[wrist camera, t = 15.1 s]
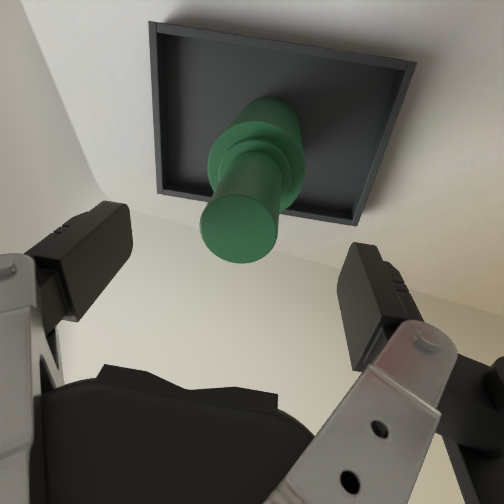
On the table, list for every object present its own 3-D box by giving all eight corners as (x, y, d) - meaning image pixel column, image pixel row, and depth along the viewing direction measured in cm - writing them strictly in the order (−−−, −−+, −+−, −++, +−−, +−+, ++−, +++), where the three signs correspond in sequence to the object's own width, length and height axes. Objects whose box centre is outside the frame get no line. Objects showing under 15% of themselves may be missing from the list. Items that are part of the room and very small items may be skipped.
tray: (165, 184, 31) (156, 193, 29) (160, 23, 23) (147, 20, 21) (352, 215, 30) (357, 226, 28) (406, 61, 23) (417, 62, 21)
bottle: (233, 159, 28) (168, 276, 13) (239, 91, 25) (162, 145, 10) (293, 168, 28) (295, 298, 13) (307, 102, 25) (331, 172, 10)
